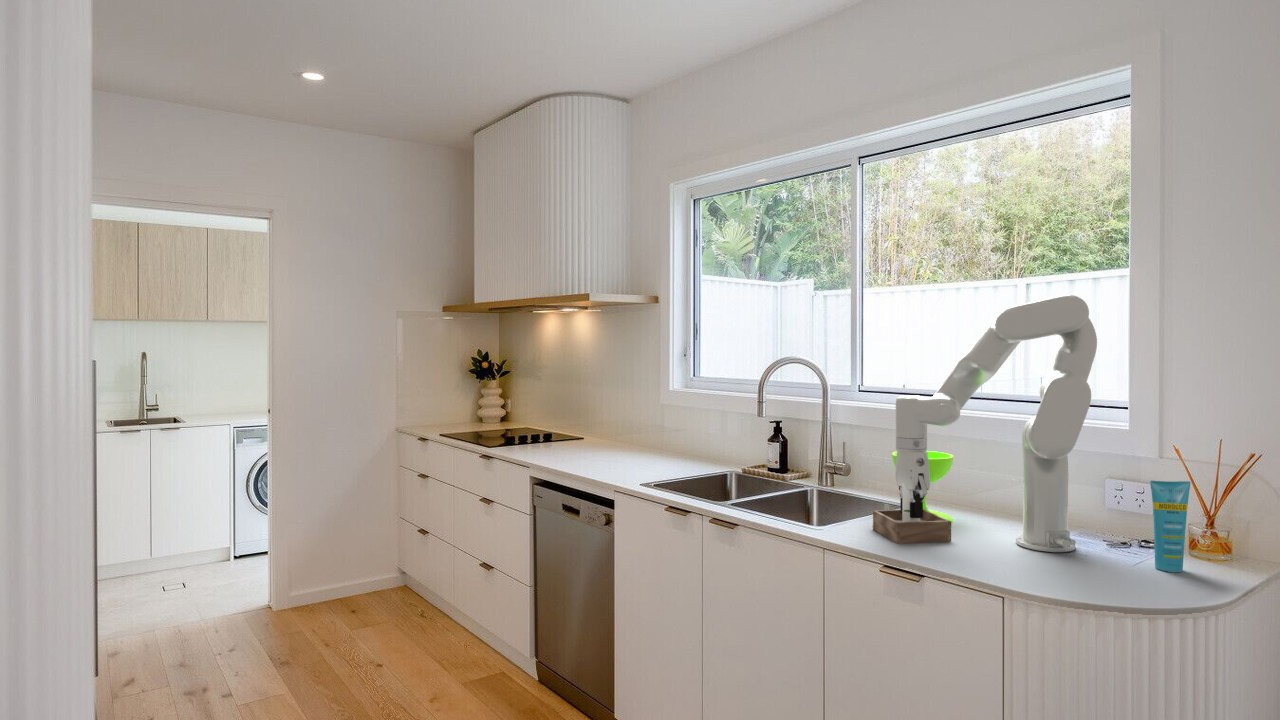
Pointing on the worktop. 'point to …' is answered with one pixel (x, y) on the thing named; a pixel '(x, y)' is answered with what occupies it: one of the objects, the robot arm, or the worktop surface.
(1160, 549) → the tube
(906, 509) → the tube
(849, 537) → the worktop surface
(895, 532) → the open wooden box
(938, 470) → the wineglass
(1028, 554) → the worktop surface
